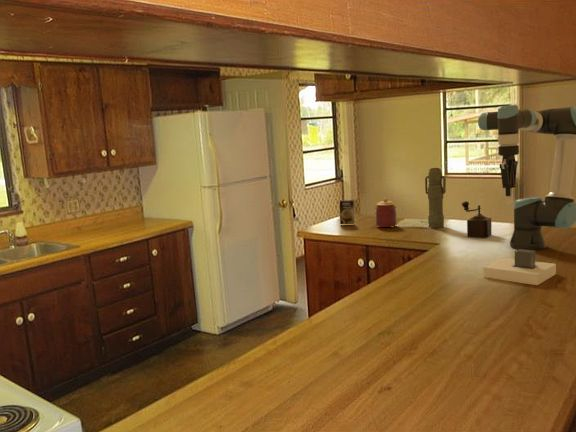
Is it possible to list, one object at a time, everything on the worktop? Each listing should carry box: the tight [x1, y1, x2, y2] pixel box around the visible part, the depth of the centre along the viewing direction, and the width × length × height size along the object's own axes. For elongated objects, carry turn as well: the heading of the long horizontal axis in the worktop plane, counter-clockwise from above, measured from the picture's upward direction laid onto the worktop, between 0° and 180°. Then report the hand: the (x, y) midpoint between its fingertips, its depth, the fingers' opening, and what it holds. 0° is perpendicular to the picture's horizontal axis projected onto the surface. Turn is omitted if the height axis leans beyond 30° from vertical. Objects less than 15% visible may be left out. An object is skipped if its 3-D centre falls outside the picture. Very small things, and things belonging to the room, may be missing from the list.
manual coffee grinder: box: [461, 200, 492, 239], centre depth 281 cm, size 16×11×18 cm
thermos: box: [424, 167, 447, 229], centre depth 311 cm, size 9×12×35 cm
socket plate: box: [482, 257, 557, 286], centre depth 202 cm, size 18×20×4 cm
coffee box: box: [339, 199, 355, 225], centre depth 338 cm, size 9×6×16 cm
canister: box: [374, 197, 398, 227], centre depth 325 cm, size 13×13×18 cm
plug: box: [514, 249, 536, 269], centre depth 200 cm, size 4×6×10 cm, turn 43°
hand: (509, 203), depth 213 cm, fingers closed
